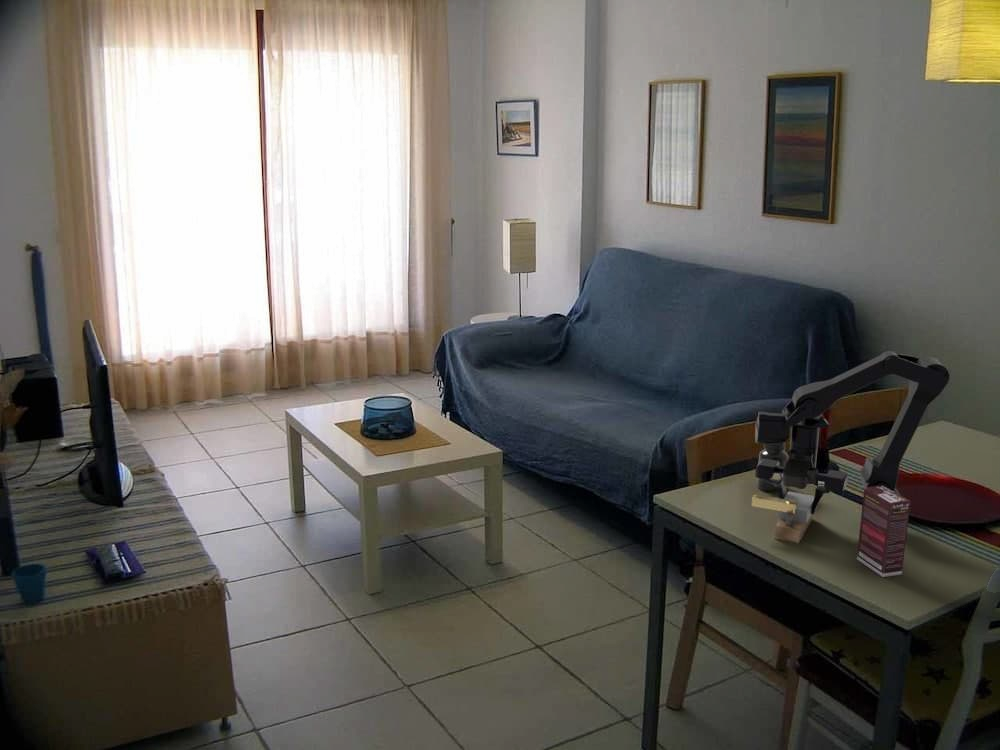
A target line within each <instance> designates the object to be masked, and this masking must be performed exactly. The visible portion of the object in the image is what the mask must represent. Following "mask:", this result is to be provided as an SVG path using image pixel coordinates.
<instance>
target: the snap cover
mask: <svg viewBox="0 0 1000 750" xmlns="http://www.w3.org/2000/svg"><path fill="white" fill-rule="evenodd" d="M814 496H815V495H809V494H804V493H799V492H795V491H794V492H793V491H787V492H786V496H785V497H784V499H786V500H794V501H797V511H796V513H794V517H793V522H798V523H803V524H806V523H807V522H808V520H809V518H810V516H811V515H812V505H813V501H814ZM777 514H778V515H777V519H778V520H780V519H783V520H786V518H787V512H783V511H778V513H777Z"/></svg>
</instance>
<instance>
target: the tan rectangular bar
mask: <svg viewBox="0 0 1000 750" xmlns="http://www.w3.org/2000/svg"><path fill="white" fill-rule="evenodd" d="M751 507H754V508H761V509H766V510H772V511H783V512H787V513H796V511H797V501H794V500H786V499H780V498H779V497H774V496H773V497H772V496H766V495H761V494H753V496H752V498H751Z"/></svg>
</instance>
